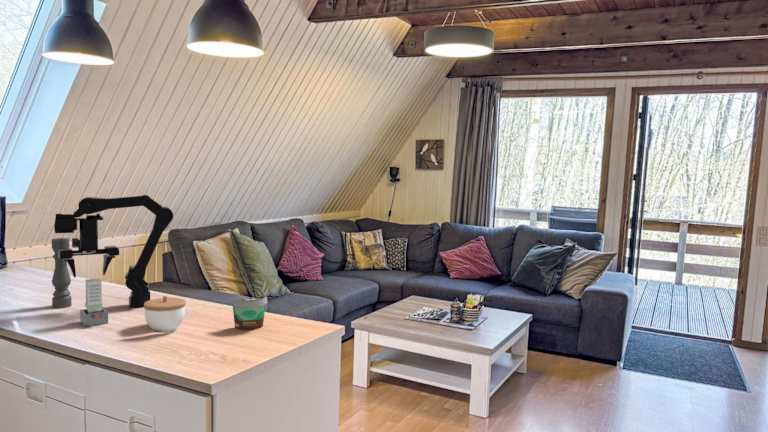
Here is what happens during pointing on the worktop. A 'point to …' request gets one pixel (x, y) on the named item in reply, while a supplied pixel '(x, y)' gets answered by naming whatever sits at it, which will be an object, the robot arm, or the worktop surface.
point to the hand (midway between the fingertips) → (89, 276)
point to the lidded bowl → (164, 313)
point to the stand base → (95, 321)
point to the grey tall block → (93, 296)
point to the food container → (249, 313)
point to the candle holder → (61, 276)
